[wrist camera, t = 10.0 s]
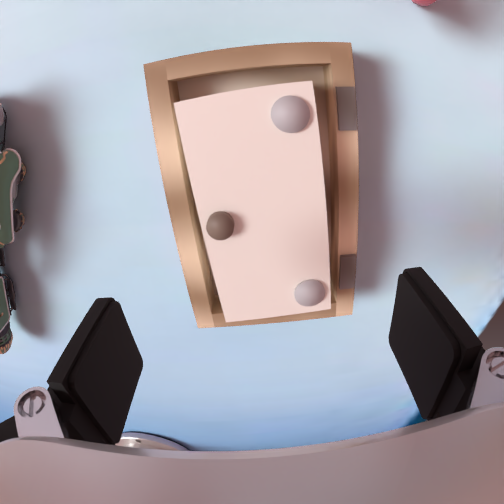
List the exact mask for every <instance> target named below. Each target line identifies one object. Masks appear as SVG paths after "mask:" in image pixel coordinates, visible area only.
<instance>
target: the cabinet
mask: <svg viewBox="0 0 504 504" xmlns="http://www.w3.org/2000/svg"><path fill="white" fill-rule="evenodd" d="M144 72H145V79H146V86H147V93H148V100H149V106H150V113H151V119H152V125H153V131H154V137H155V142H156V148H157V153H158V159H159V164H160V169H161V174H162V179H163V184H164V189H165V194H166V199H167V204H168V208H169V213H170V218H171V222H172V227H173V231H174V235H175V240H176V244H177V248H178V252H179V257H180V261H181V265H182V269H183V273H184V277H185V281H186V285H187V289H188V292H189V296H190V300H191V304H192V307H193V311H194V315H195V318H196V322H197V326H198V328H209V327H226V326H241V325H255V324H267V323H278V322H289V321H299V320H309V319H318V318H327V317H335V316H344V315H352V311H353V300H354V288H355V274H356V258H357V238H358V203H359V160H358V126H357V107H356V91H355V78H354V67H353V57H352V47H351V43H345V42H301V43H279V44H265V45H254V46H244V47H235V48H227V49H220V50H213V51H207V52H201V53H195V54H190V55H184V56H179V57H174V58H170V59H165V60H161V61H156V62H152V63H148V64H144ZM303 81H312V82H313V89H314V96H315V103H316V111H317V119H318V127H319V136H320V145H321V154H322V164H323V174H324V185H325V198H326V211H327V225H328V242H329V262H330V290H331V309H327V310H321V311H314V312H307V313H300V314H293V315H285V316H278V317H270V318H261V319H253V320H244V321H235V322H226V321H225V317H224V313H223V310H222V306H221V302H220V299H219V295H218V291H217V287H216V283H215V280H214V276H213V272H212V268H211V264H210V260H209V256H208V252H207V249H206V245H205V241H204V237H203V232H202V228H201V224H200V220H199V216H198V212H197V208H196V203H195V199H194V195H193V191H192V186H191V182H190V178H189V173H188V169H187V164H186V160H185V155H184V151H183V146H182V141H181V137H180V132H179V127H178V122H177V118H176V113H175V108H174V103H176V102H180V101H184V100H189V99H193V98H198V97H202V96H207V95H212V94H217V93H223V92H228V91H234V90H240V89H246V88H253V87H260V86H267V85H275V84H283V83H292V82H303Z"/></svg>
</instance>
